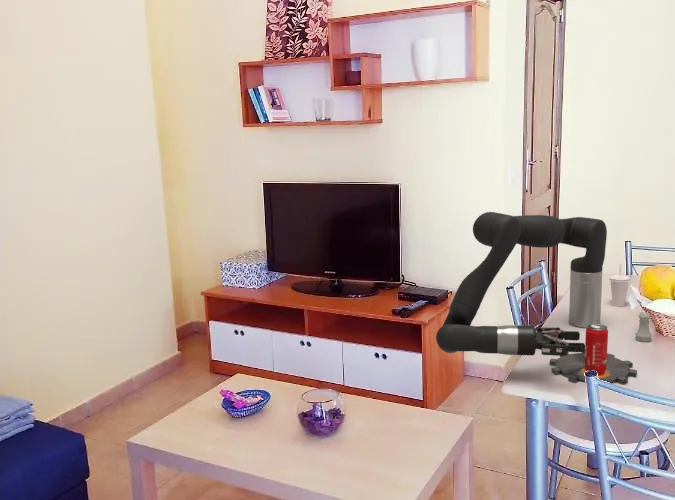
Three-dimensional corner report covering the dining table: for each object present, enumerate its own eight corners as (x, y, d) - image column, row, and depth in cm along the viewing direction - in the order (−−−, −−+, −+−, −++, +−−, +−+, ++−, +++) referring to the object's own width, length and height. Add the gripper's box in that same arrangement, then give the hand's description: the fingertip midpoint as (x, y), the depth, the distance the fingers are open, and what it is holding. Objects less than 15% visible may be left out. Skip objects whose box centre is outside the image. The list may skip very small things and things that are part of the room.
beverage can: (595, 377, 168) (597, 331, 166) (579, 371, 173) (581, 325, 170) (610, 373, 171) (612, 327, 168) (594, 366, 175) (596, 322, 173)
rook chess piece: (648, 337, 199) (650, 310, 197) (654, 342, 194) (655, 315, 193) (632, 337, 199) (634, 310, 197) (637, 342, 195) (639, 315, 193)
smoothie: (630, 303, 230) (632, 263, 227) (626, 308, 225) (628, 267, 222) (610, 301, 234) (612, 261, 231) (606, 306, 228) (608, 265, 225)
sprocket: (546, 354, 189) (546, 345, 189) (625, 355, 185) (626, 346, 185) (555, 384, 169) (555, 375, 168) (644, 387, 165) (645, 377, 164)
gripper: (517, 335, 166) (587, 336, 163) (513, 317, 180) (578, 318, 177) (517, 364, 168) (586, 366, 165) (513, 344, 181) (577, 345, 178)
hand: (582, 341), depth 171 cm, fingers open, 8 cm apart
